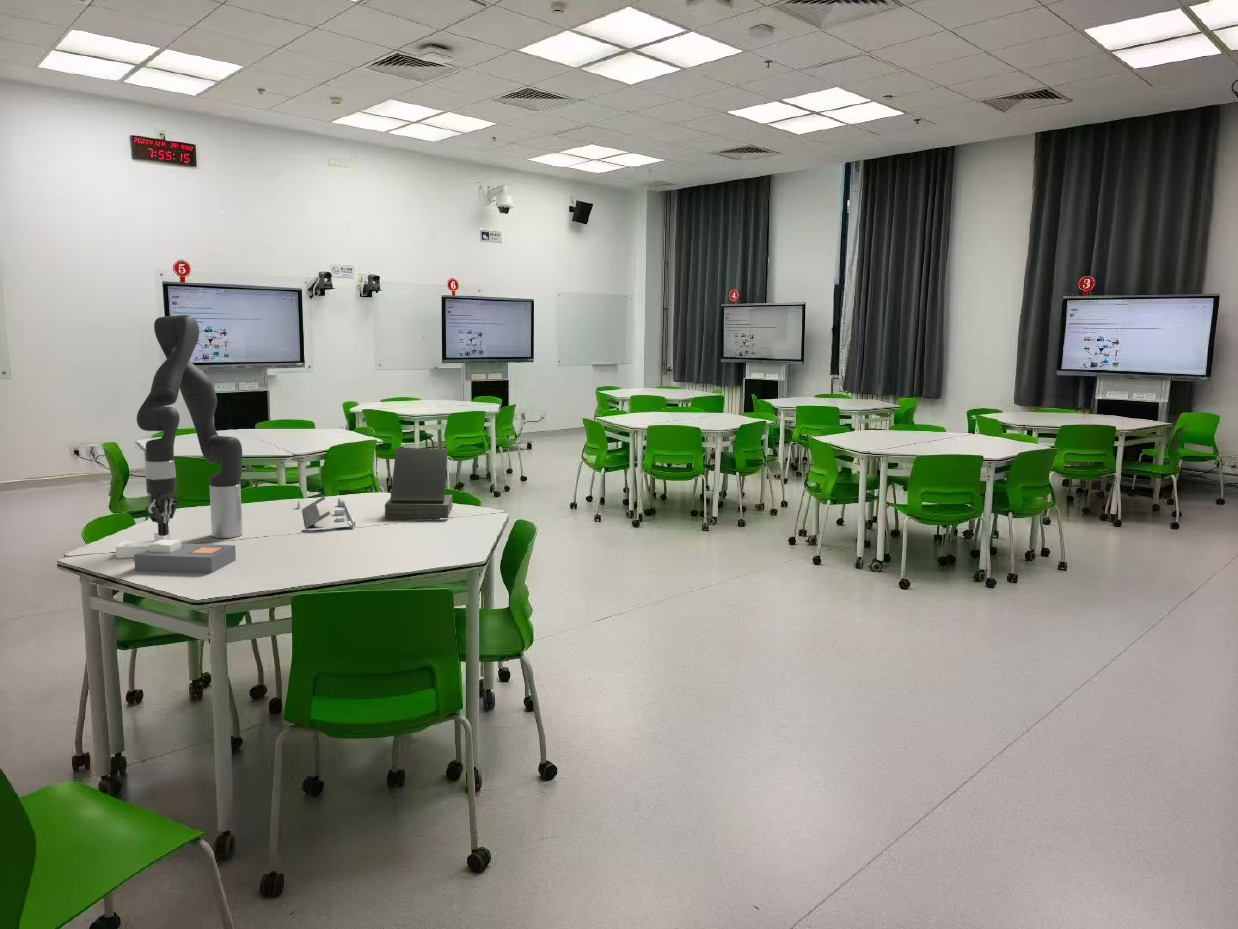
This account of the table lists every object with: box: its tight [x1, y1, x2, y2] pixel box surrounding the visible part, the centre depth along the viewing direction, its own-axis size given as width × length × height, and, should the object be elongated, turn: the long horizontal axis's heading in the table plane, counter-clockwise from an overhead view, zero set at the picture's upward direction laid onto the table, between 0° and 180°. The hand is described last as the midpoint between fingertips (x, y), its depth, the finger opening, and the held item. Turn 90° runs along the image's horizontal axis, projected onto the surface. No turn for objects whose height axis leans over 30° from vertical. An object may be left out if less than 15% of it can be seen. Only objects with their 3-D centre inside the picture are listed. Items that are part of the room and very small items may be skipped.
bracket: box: [115, 526, 171, 559], centre depth 252 cm, size 13×7×8 cm, turn 106°
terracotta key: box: [191, 547, 222, 554], centre depth 241 cm, size 6×6×4 cm
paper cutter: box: [296, 495, 356, 531], centre depth 307 cm, size 18×45×6 cm, turn 23°
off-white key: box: [149, 539, 182, 553], centre depth 241 cm, size 6×6×4 cm
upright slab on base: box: [384, 447, 454, 521], centre depth 317 cm, size 23×20×25 cm
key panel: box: [133, 542, 237, 574], centre depth 242 cm, size 14×22×4 cm, turn 89°
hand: (163, 535), depth 241 cm, fingers closed
